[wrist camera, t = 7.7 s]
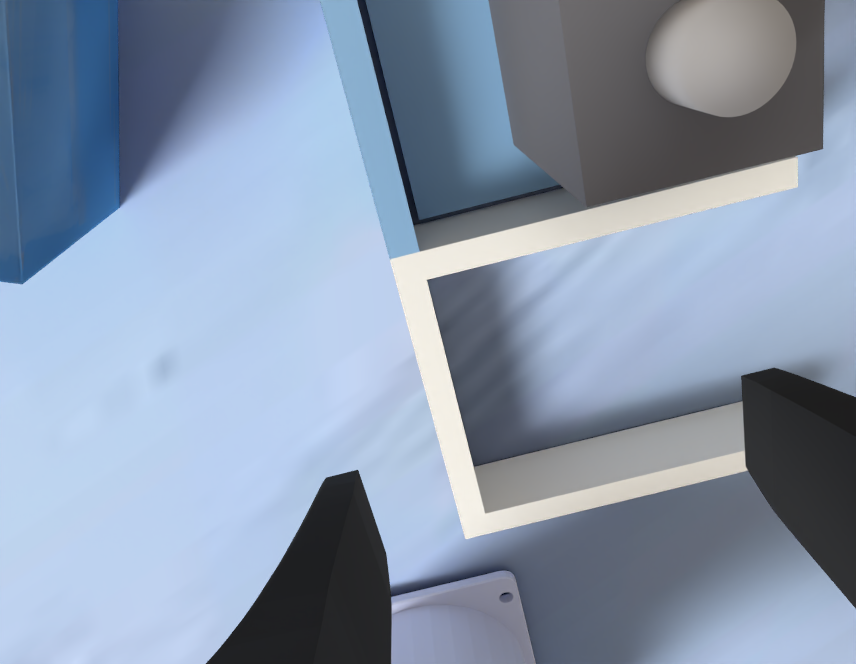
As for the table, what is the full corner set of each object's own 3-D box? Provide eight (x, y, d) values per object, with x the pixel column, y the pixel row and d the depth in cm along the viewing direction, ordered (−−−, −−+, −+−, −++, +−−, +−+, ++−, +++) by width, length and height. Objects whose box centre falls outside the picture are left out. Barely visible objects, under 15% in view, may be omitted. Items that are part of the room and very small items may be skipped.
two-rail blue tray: (759, 416, 24) (800, 457, 22) (456, 490, 25) (465, 539, 22) (735, -229, 17) (794, -267, 14) (294, -113, 17) (283, -133, 15)
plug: (672, 105, 19) (876, 164, 12) (513, 144, 19) (612, 229, 12) (657, -78, 18) (890, -152, 10) (482, -34, 18) (575, -72, 10)
